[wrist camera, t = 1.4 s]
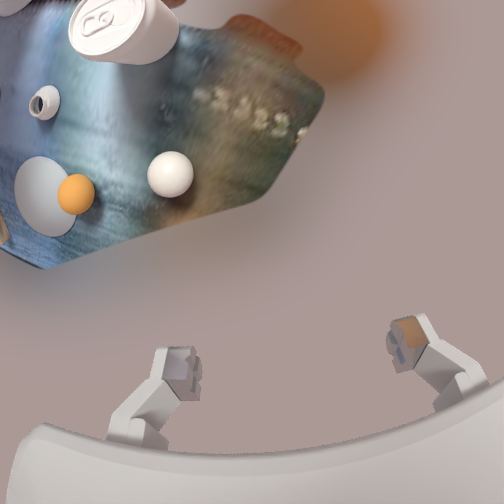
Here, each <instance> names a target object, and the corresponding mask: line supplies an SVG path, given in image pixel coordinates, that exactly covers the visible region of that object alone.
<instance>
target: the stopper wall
mask: <svg viewBox="0 0 504 504" xmlns="http://www.w3.org/2000/svg"><path fill="white" fill-rule="evenodd" d="M10 236H11V235H10V233H9V230H8V228H7V226H6V223H5V221H4V219H3V216H2V214H1V211H0V245H3V244H4V243H5V242H6V241H7V240H8V239H9V238H10Z"/></svg>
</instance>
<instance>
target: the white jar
mask: <svg viewBox="0 0 504 504" xmlns="http://www.w3.org/2000/svg"><path fill="white" fill-rule="evenodd" d="M40 97H41V98H42V100H43V108H42V111H41V112H40V111H39V107H38V101H39V98H40ZM59 105H60V96H59V92H58V90H57V89H56V88H55V87H53V86H51V85H49V86H44V87H42V88H41V89H40V90H39V91H38V92H37V93H36V94H35V95H34V96H33V97H32V99H31V100H30V103H29V111H30V113H31V115H32V116H34V117H36V118H38V119H41V120H48V119H50V118H52V117H53V116H54V115H55V114H56V112H57V111H58V108H59Z"/></svg>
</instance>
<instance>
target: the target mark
mask: <svg viewBox="0 0 504 504" xmlns="http://www.w3.org/2000/svg"><path fill="white" fill-rule="evenodd" d="M67 177H68V175H67V173H66V172H65V171H64V169H63V168H62V167H61V166H60V165H59V164H58V163H56V162H55V161H53V160H52V159H49V158H47V157H43V156H37V157H32V158H30V159H28V160H26V161H25V162H24V163H23V164H22V165H21V166H20V168H19V170H18V172H17V174H16V178H15V183H14V193H15V199H16V203H17V206H18V209H19V211H20V213H21V215H22V217H23V218H24V220H25V221H26V222H27V223H28V225H29V226H30V227H32V228H33V229H34V230H35V231H37V232H38V233H40V234H42V235H45V236H49V237H57V236H61V235H63V234H65V233H66V232H68V231H69V229H70V228H71V227H72V225H73V224H74V222H75V219H76V215H72V214H68V213H66V212H65V211H64V210H63V209H62V208H61V207H60V205H59V202H58V189H59V187H60V185H61V183H62V182H63V180H64V179H66V178H67Z"/></svg>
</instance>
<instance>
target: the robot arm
mask: <svg viewBox="0 0 504 504" xmlns="http://www.w3.org/2000/svg"><path fill="white" fill-rule="evenodd" d="M30 1H32V0H0V16H3V17H6V16H10V15H13V14H15V13H16V12H18V11H20V10H21V9H22V8H24V7H25V6H26V5H27V4H28V3H29V2H30ZM390 327H391V330H390V331H389V332H388V333H387V336H386V346H387V350H388V352H389V354H391V355H392V356H394V357H393V360H392V362H393V365H394V367H395V370H396V372H397V373H400V372H404V371H408V370H412V369H413V370H414V371H415V372H416V373H417V374H418V375H420V376H421V377H422V378H423V379H424V380H425V381H426V382H428V383H429V384H430V385H431V386H432V387H433V388H434V389H436V390H437V391H438V392H439V393H440V394H439V395H438V397H437V398H436V399H435V400H434V402H433V406H434V409H435V413H433V414H430V415H428V416H425V417H423V418H420V419H418V420H415V421H412V422H409V423H407V424H403V425H401V426H398V427H395V428H392V429H388V430H385V431H382V432H378V433H375V434H371V435H367V436H364V437H359V438H355V439H351V440H347V441H342V442H337V443H332V444H327V445H322V446H316V447H310V448H303V449H296V450H286V451H276V452H264V453H244V454H207V453H188V452H175V451H168V443H169V441H168V440H167V438H165V437H164V436H163V435H161V434H160V433H159V431H160V429H161V428H162V427H163V425H164V424H165V423H166V421H167V420H168V419H169V417H170V416H171V414H172V413H173V412H174V410H175V409H176V408H177V406H178V405H179V403H180V401H199V400H200V391H201V386H200V384H199V383H198V382H199V381H200V380H201V378H202V364H201V360H200V358H199V357H198V356H196V350H195V348H194V346H191V347H189V346H187V347H158V348H157V350H156V353H155V357H154V361H153V365H152V369H151V373H150V378H149V379H146V380H145V381H144V382H143V383H142V384H141V385H140V386H139V387H138V388H137V389H136V390H135V391H134V392H133V393H132V394H131V395H130V396H129V397H128V398H127V399H126V400H125V401H124V402H123V404H121V405H120V406H119V407H118V408H117V410H115V411H114V412H113V414H112V417H111V422H110V425H109V429H108V434H107V438H106V440H102V439H98V438H94V437H90V436H86V435H83V434H79V433H76V432H72V431H70V430H66V429H63V428H60V427H57V426H55V425H52V424H49V423H42V424H40V425H38V426H37V427H36V428H35V429H33V430H32V431H31V432H30V433H28V434H27V435H26V436H25V437H24V438H23V439H22V441H21V443H20V445H19V447H18V449H17V452H16V455H15V459H14V462H13V466H12V470H11V474H10V478H9V484H8V489H7V497H6V504H504V377H503V378H501V379H499V380H498V381H496V382H494V383H493V384H491V385H490V384H489V382H488V380H487V378H486V376H485V374H484V372H483V370H482V368H481V366H480V364H479V363H478V362H476V361H475V360H474V359H472V358H470V357H469V356H467V355H466V354H464V353H463V352H461V351H459V350H458V349H457V348H455V347H453V346H452V345H450V344H449V343H447V342H445V341H444V340H439V338H438V336H437V334H436V332H435V331H434V329H433V327H432V326H431V324H430V322H429V320H428V318H427V317H426V315H425V314H424V313H420V314H416V315H413V316H407V317H403V318H400V319H395V320H393V321H392V322H391V325H390Z"/></svg>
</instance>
